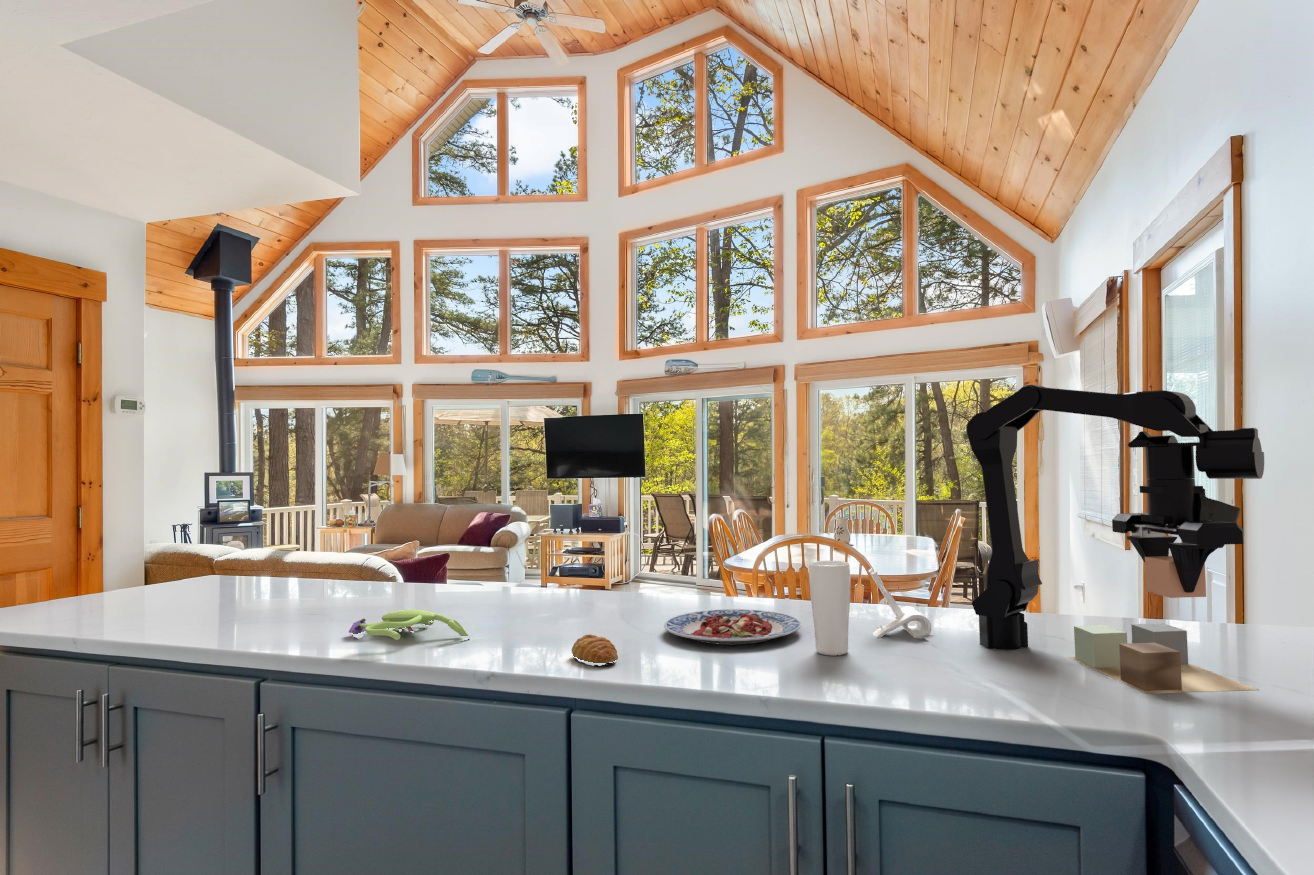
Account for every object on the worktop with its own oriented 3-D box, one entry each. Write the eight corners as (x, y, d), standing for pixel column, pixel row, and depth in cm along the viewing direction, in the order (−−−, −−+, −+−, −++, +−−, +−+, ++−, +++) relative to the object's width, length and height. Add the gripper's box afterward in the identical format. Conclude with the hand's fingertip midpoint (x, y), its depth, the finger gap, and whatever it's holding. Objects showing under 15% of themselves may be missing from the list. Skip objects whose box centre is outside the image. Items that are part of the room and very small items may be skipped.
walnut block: (1144, 690, 99) (1143, 653, 99) (1120, 679, 104) (1119, 643, 104) (1182, 689, 99) (1180, 651, 99) (1156, 678, 104) (1154, 642, 104)
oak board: (1146, 699, 98) (1146, 693, 98) (1068, 662, 116) (1068, 657, 116) (1258, 695, 98) (1258, 689, 98) (1163, 659, 116) (1163, 654, 116)
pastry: (628, 665, 122) (627, 641, 122) (591, 672, 118) (590, 648, 119) (602, 652, 130) (602, 630, 130) (567, 659, 127) (566, 636, 127)
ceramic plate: (672, 619, 156) (672, 605, 156) (797, 619, 152) (797, 605, 152) (655, 651, 130) (655, 634, 130) (805, 652, 126) (804, 635, 127)
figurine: (373, 662, 128) (372, 629, 128) (339, 634, 150) (338, 606, 150) (475, 645, 139) (475, 615, 139) (430, 621, 161) (429, 595, 161)
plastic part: (931, 639, 133) (929, 573, 134) (874, 638, 134) (872, 573, 135) (921, 629, 141) (920, 567, 141) (868, 628, 142) (866, 567, 142)
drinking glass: (854, 658, 121) (850, 566, 122) (811, 657, 123) (808, 566, 123) (851, 647, 128) (848, 560, 128) (811, 647, 129) (808, 560, 130)
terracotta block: (1170, 597, 103) (1169, 561, 103) (1146, 591, 108) (1144, 556, 108) (1206, 596, 103) (1204, 560, 103) (1180, 590, 108) (1178, 555, 108)
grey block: (1155, 665, 110) (1153, 631, 110) (1132, 656, 115) (1131, 624, 115) (1188, 664, 110) (1186, 630, 110) (1164, 655, 115) (1163, 623, 115)
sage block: (1094, 667, 110) (1093, 633, 110) (1075, 658, 115) (1073, 626, 115) (1128, 666, 110) (1126, 632, 110) (1107, 657, 115) (1105, 625, 115)
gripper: (1282, 479, 97) (1288, 599, 96) (1178, 475, 115) (1183, 577, 115) (1197, 481, 96) (1203, 602, 96) (1107, 477, 115) (1112, 579, 115)
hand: (1175, 589), depth 105 cm, fingers closed on terracotta block, 5 cm apart
